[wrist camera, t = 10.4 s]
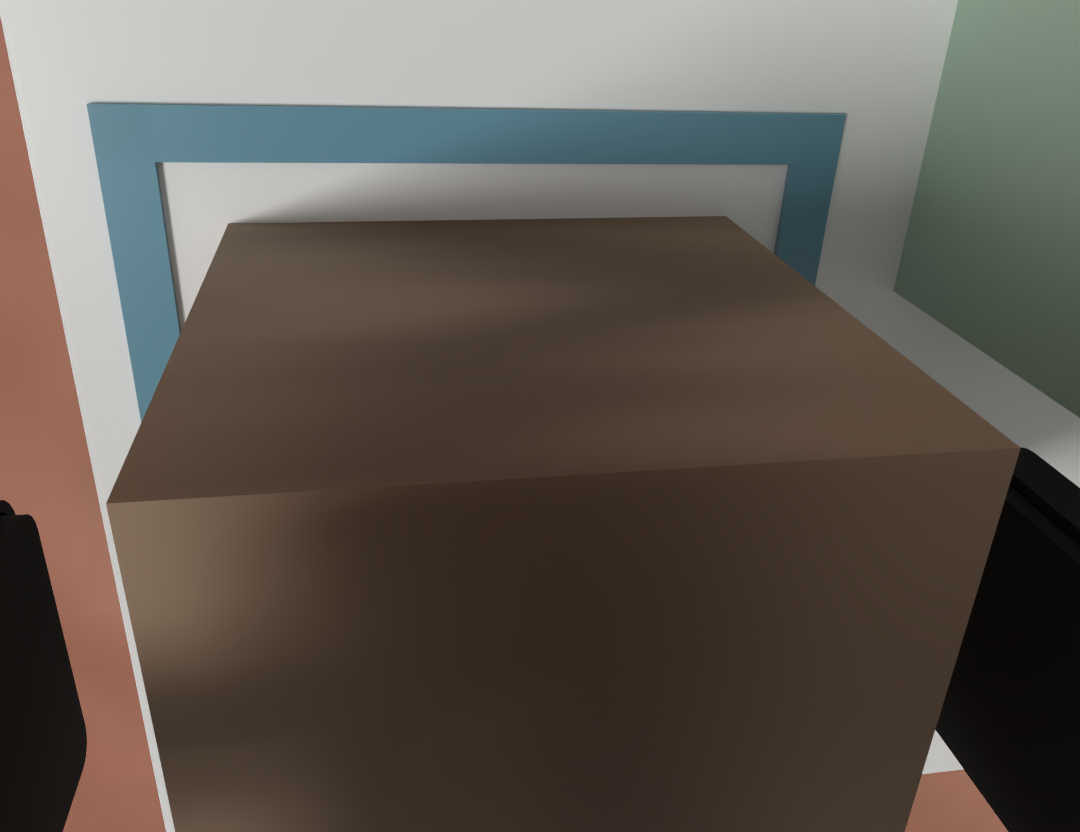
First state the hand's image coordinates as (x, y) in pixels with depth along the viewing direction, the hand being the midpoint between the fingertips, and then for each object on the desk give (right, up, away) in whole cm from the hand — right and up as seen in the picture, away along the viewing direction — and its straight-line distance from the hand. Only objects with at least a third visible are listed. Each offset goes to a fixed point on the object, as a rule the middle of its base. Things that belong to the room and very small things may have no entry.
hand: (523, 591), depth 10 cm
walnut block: (-1, +2, +3) cm, 3 cm away
